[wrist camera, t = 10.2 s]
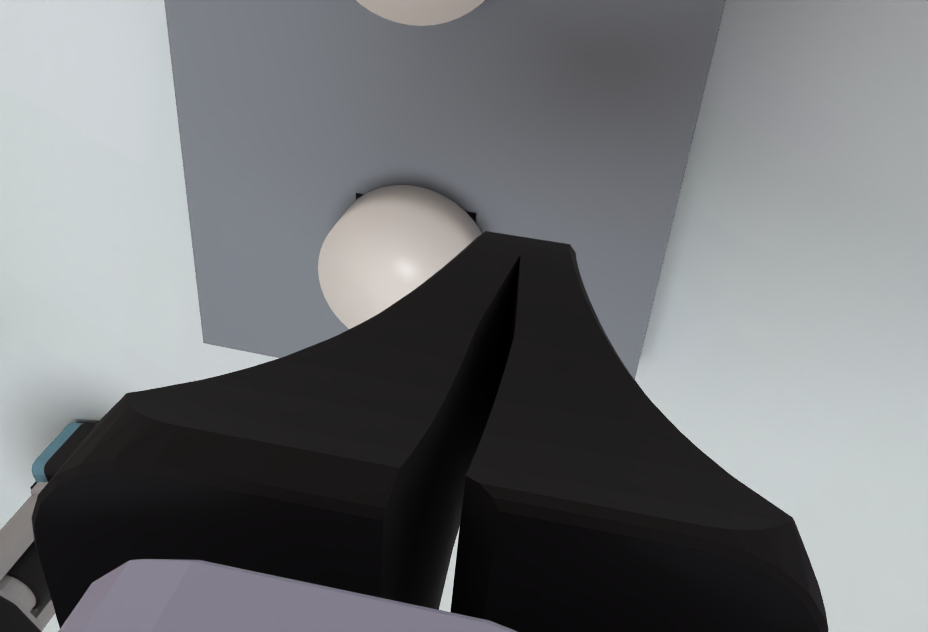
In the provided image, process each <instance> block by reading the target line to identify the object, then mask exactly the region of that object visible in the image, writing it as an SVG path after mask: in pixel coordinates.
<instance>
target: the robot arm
mask: <svg viewBox="0 0 928 632" xmlns="http://www.w3.org/2000/svg"><path fill="white" fill-rule="evenodd" d="M31 518H32V526H33V534H34V542H35V546H36V550H37V553H38V556H39V560H40V563H41V566H42V570H43V573H44V576H45V580H46V583H47V586H48V590H49V593H50V596H51V600H52V603H53V607H54V610H55V613H56V617H57V620H58V623H59V627H60V630H59V631H58V632H828V624H827V618H826V612H825V607H824V603H823V600H822V596H821V592H820V588H819V585H818V582H817V579H816V577H815V574H814V571H813V568H812V566H811V563H810V560H809V557H808V555H807V552H806V550H805V547H804V544H803V542H802V539H801V536H800V534H799V531H798V529H797V526H796V524H795V521H794V520H793V518H792V517H791V516H789V515H788V514H786V513H785V512H784V511H782V510H781V509H779V508H778V507H776V506H775V505H773V504H772V503H770V502H769V501H767V500H766V499H765V498H763V497H762V496H760V495H759V494H757V493H756V492H754V491H753V490H751V489H750V488H748V487H747V486H746V485H744V484H743V483H741V482H740V481H738V480H737V479H735V478H734V477H733V476H731V475H730V474H729V473H727V472H726V471H725V470H724V469H723V468H721V467H720V466H719V465H718V464H717V463H715V462H714V461H713V460H712V459H710V458H709V457H708V456H707V455H706V454H704V453H703V452H702V451H701V450H700V449H698V448H697V447H696V446H695V445H694V444H693V443H692V442H691V441H690V440H689V439H688V438H686V437H685V436H684V435H683V434H682V433H681V432H680V431H679V430H678V429H677V428H676V427H675V426H674V425H673V424H672V423H671V422H670V421H669V420H668V419H667V418H666V417H665V415H664V414H663V413H662V412H661V411H660V410H659V409H658V408H657V407H656V406H655V405H654V404H653V403H652V402H651V400H650V399H649V398H648V397H647V396H646V395H645V393H644V392H643V390H642V389H641V388H640V386H639V385H638V384H637V382H636V381H635V380H634V378H633V377H632V376H631V374H630V373H629V371H628V370H627V368H626V367H625V365H624V364H623V362H622V361H621V359H620V357H619V356H618V354H617V352H616V351H615V349H614V347H613V346H612V344H611V342H610V340H609V339H608V337H607V335H606V333H605V331H604V329H603V327H602V326H601V324H600V321H599V319H598V317H597V315H596V313H595V311H594V308H593V306H592V304H591V302H590V300H589V297H588V295H587V292H586V290H585V287H584V284H583V281H582V278H581V275H580V272H579V268H578V264H577V259H576V252H575V251H574V249H573V248H572V247H571V245H570V244H565V243H559V242H553V241H546V240H540V239H534V238H527V237H521V236H514V235H508V234H502V233H495V232H489V231H485V232H484V233H482V234H481V235H479V236H478V237H477V238H476V239H475V240H473V241H472V242H471V243H470V244H469V245H468V246H467V247H466V248H465V249H464V250H462V251H461V252H460V253H459V254H458V255H457V256H456V257H454V258H453V259H452V260H451V261H450V262H449V263H447V264H446V265H445V266H444V267H443V268H441V269H440V270H439V271H438V272H436V273H435V274H434V275H433V276H431V277H430V278H429V279H427V280H426V281H425V282H424V283H422V284H421V285H420V286H418V287H417V288H416V289H414V290H413V291H412V292H410V293H409V294H407V295H406V296H404V297H403V298H401V299H400V300H398V301H397V302H395V303H394V304H392V305H391V306H390V307H388V308H387V309H385V310H384V311H382V312H380V313H379V314H377V315H375V316H374V317H372V318H370V319H368V320H366V321H365V322H363V323H361V324H359V325H357V326H355V327H353V328H351V329H349V330H347V331H345V332H343V333H341V334H339V335H337V336H334V337H332V338H330V339H328V340H325V341H323V342H320V343H317V344H315V345H312V346H310V347H307V348H305V349H302V350H300V351H297V352H295V353H292V354H290V355H287V356H285V357H282V358H279V359H276V360H273V361H270V362H267V363H263V364H260V365H257V366H254V367H251V368H247V369H243V370H239V371H236V372H232V373H228V374H225V375H221V376H217V377H212V378H208V379H204V380H199V381H194V382H188V383H183V384H177V385H172V386H167V387H161V388H156V389H150V390H145V391H138V392H132V393H127V394H126V395H125V396H124V397H123V398H122V399H121V400H120V401H119V402H118V403H117V404H116V405H115V406H114V407H113V408H112V409H111V410H110V411H109V412H108V413H107V414H106V415H105V416H104V417H103V418H102V419H101V420H100V421H99V422H98V423H97V425H96V426H95V427H94V428H93V429H92V431H91V432H90V433H89V434H88V435H87V437H86V438H85V439H84V440H83V442H82V443H81V444H80V445H79V446H78V447H77V449H76V450H75V451H74V452H73V453H72V455H71V456H70V457H69V458H68V459H67V461H66V462H65V463H64V464H63V465H62V467H61V468H60V469H59V470H58V471H57V473H56V474H55V475H54V476H53V477H52V479H51V480H50V481H49V482H48V483H47V485H46V486H45V487H44V488H43V489H42V491H41V492H40V493H39V494H38V496H37V500H36V503H35V507H34V510H33V514H32V517H31ZM459 526H460V530H459V539H458V549H457V558H456V567H455V576H454V586H453V595H452V604H451V612H446V611H441V610H439V606H440V601H441V597H442V593H443V588H444V584H445V580H446V575H447V571H448V567H449V563H450V558H451V554H452V550H453V546H454V543H455V540H456V536H457V533H458V529H459Z"/></svg>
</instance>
